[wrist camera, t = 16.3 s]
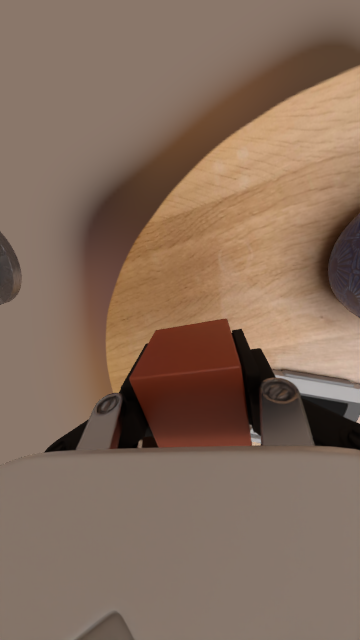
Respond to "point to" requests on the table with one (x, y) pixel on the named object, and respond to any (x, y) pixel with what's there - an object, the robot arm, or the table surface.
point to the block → (193, 387)
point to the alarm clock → (323, 394)
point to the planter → (347, 267)
